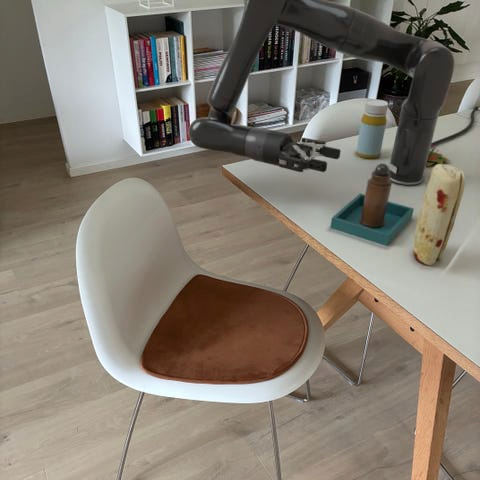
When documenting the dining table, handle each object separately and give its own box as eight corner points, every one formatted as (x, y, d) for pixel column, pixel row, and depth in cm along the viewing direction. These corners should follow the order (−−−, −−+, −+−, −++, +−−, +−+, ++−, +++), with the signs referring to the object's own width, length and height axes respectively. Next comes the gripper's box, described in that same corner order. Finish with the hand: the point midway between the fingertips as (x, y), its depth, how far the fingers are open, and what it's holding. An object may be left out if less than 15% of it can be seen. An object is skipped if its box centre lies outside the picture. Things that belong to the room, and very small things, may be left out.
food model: (404, 245, 114) (427, 157, 102) (435, 247, 114) (461, 158, 102) (412, 270, 107) (437, 177, 94) (445, 272, 106) (474, 179, 94)
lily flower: (458, 164, 151) (463, 148, 148) (427, 171, 147) (431, 155, 144) (428, 150, 159) (432, 135, 156) (398, 156, 155) (401, 141, 152)
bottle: (379, 160, 152) (390, 107, 143) (355, 158, 153) (364, 105, 144) (379, 151, 157) (389, 99, 148) (356, 149, 158) (364, 98, 149)
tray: (357, 204, 130) (360, 193, 128) (411, 220, 124) (414, 208, 122) (329, 230, 119) (331, 217, 117) (386, 248, 114) (389, 235, 112)
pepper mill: (365, 214, 124) (376, 157, 115) (387, 221, 122) (400, 163, 113) (355, 224, 120) (365, 165, 112) (378, 231, 118) (390, 171, 109)
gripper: (255, 140, 116) (324, 154, 110) (281, 121, 125) (346, 134, 120) (253, 172, 120) (319, 188, 115) (279, 152, 130) (341, 166, 124)
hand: (333, 160), depth 117 cm, fingers open, 8 cm apart
